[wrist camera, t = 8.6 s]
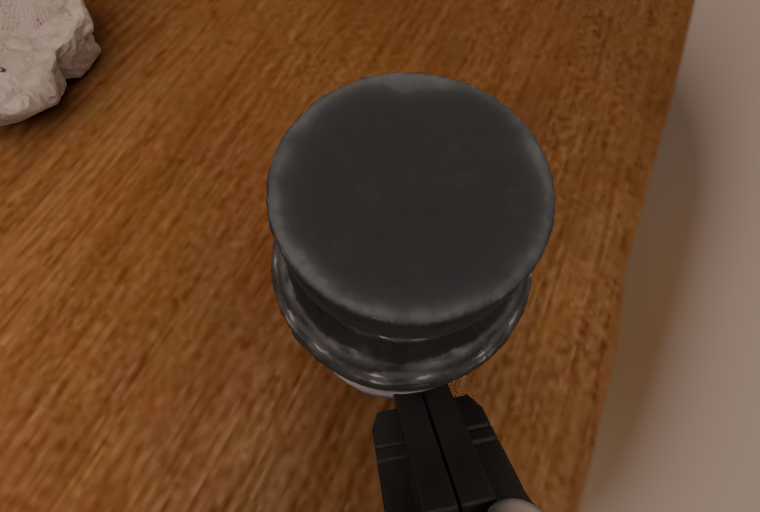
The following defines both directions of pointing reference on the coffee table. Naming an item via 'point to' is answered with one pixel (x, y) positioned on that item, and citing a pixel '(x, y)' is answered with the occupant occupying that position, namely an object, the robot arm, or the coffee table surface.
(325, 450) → the coffee table surface
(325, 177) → the pill bottle
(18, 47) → the fossil
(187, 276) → the coffee table surface
